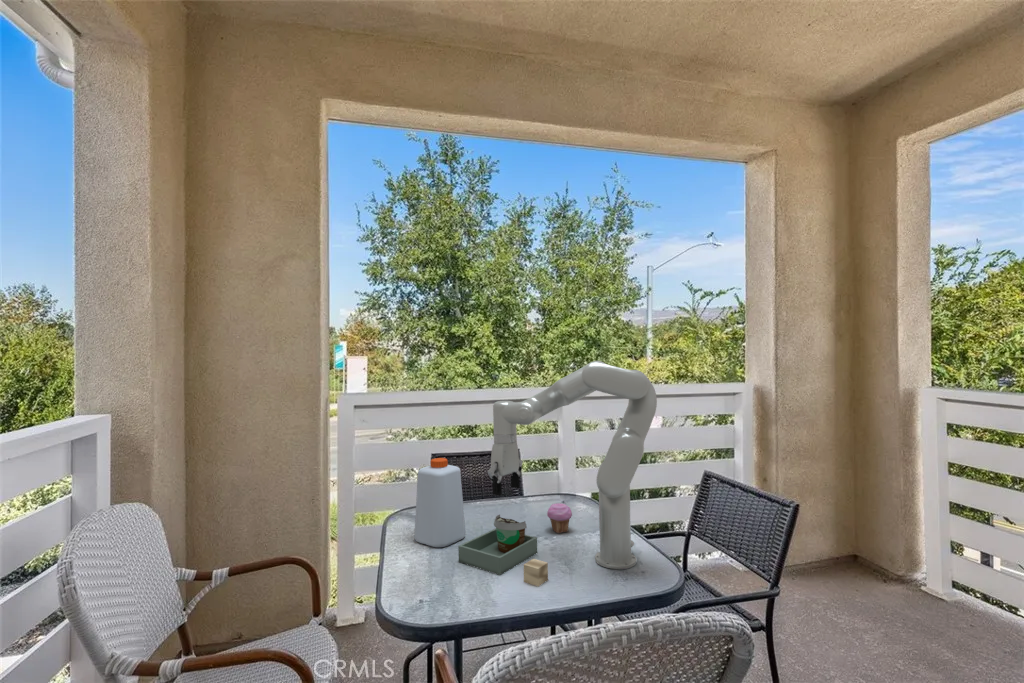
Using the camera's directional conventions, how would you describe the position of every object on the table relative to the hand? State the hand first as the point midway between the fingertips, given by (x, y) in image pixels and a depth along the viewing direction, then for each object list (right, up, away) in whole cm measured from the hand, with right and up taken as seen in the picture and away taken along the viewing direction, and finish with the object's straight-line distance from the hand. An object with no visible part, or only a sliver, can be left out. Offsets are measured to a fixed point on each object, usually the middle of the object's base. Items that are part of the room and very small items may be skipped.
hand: (506, 491), depth 166 cm
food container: (0, -19, -1) cm, 19 cm away
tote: (-2, -20, -4) cm, 21 cm away
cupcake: (+19, -20, +19) cm, 34 cm away
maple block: (+9, -20, -21) cm, 30 cm away
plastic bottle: (-24, -21, +13) cm, 34 cm away
